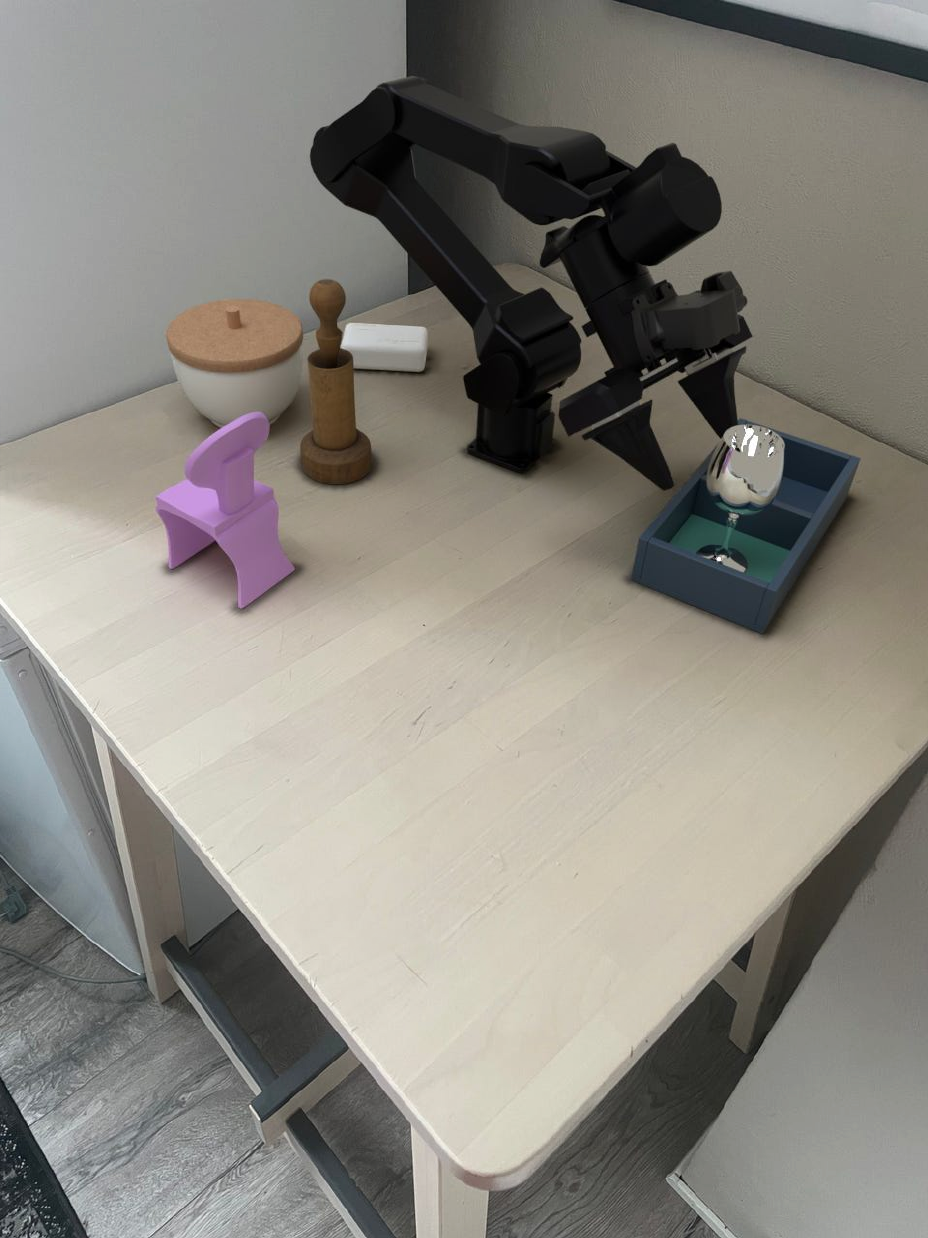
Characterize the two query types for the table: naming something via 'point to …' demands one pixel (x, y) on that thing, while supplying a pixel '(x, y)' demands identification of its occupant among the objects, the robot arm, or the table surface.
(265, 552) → the toy chair
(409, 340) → the soap
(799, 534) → the divided storage tray
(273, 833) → the table surface
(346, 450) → the mortar and pestle
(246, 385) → the lidded bowl
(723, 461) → the wineglass
